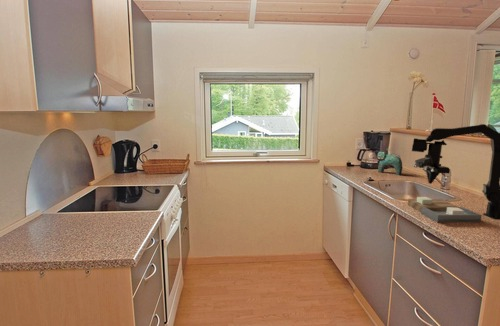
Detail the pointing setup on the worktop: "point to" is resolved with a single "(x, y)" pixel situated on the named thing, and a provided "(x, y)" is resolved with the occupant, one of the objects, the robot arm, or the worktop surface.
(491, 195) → the robot arm
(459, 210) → the white tile
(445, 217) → the box
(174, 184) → the worktop surface
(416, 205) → the walnut plate
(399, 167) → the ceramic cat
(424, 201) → the sage tile
